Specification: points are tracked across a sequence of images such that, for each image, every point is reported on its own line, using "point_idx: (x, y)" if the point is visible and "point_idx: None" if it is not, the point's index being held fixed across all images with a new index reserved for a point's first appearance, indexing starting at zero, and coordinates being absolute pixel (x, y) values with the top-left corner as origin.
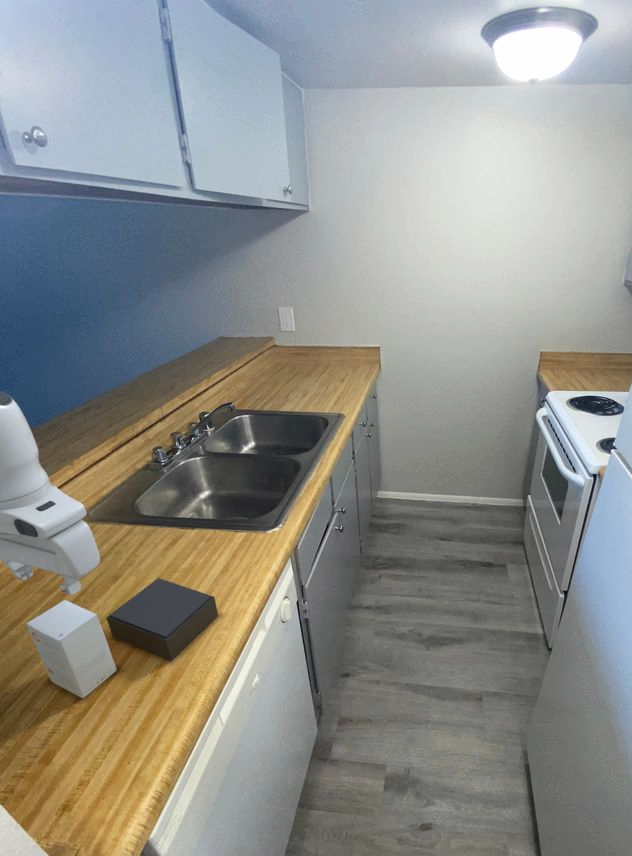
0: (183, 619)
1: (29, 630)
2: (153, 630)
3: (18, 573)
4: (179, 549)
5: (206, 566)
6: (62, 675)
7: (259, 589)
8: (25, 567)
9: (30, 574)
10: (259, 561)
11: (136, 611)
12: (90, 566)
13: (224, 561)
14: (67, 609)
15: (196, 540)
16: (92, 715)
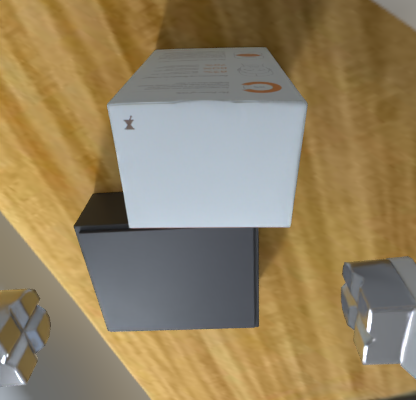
0: (94, 276)
1: (292, 92)
2: (118, 234)
3: (376, 301)
4: (330, 367)
5: (246, 356)
6: (195, 58)
7: (115, 350)
8: (377, 347)
9: (346, 303)
10: (171, 388)
11: (206, 254)
12: None
13: (226, 372)
14: (235, 205)
15: (319, 389)
16: (96, 31)
